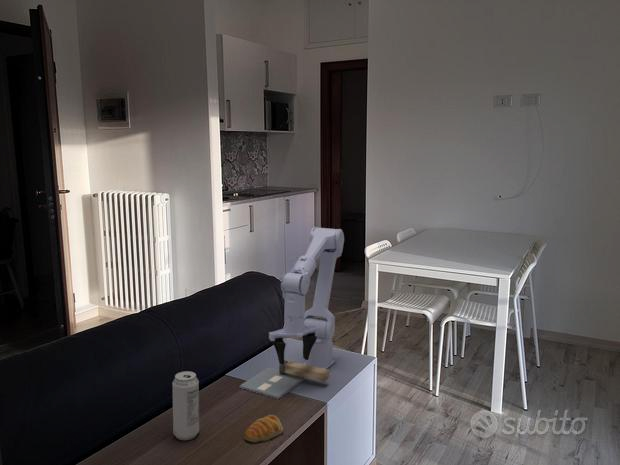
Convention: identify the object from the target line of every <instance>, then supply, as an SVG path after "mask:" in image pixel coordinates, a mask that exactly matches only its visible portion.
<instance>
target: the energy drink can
mask: <svg viewBox="0 0 620 465" xmlns="http://www.w3.org/2000/svg"><path fill="white" fill-rule="evenodd" d="M199 384H200V381H199V379H198V378H197V374H196V373H195V372H193V371H187V370H186V371H180V372H177V373H176V374H175V375H174V379H173V381H172V426H173V430H172V431H173V432H172V433H173V435H174V436H175V437H176V439H177V440H178V441H179V440H180V441H189V440H192V439H195V438H196V436H197V435H198V433H199V432H200V390H199V389H200V388H199V386H200V385H199Z"/></svg>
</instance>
